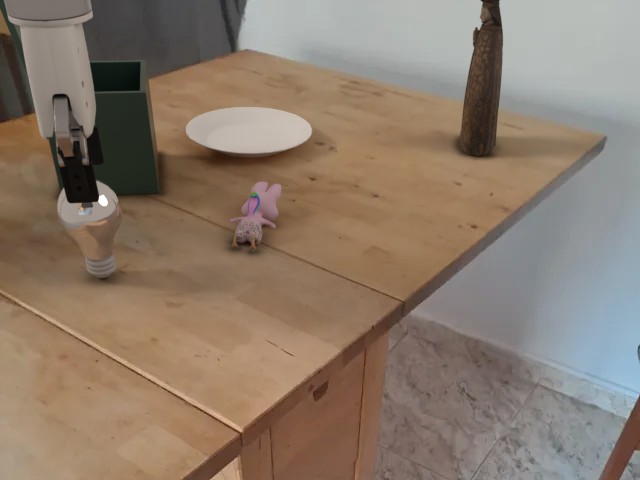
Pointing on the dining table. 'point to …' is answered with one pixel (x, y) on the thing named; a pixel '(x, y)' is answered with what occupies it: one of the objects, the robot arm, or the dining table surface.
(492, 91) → the statue
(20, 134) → the dining table surface
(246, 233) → the rabbit figure
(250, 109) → the plate
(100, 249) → the light bulb
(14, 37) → the bin lid
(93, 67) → the waste bin
